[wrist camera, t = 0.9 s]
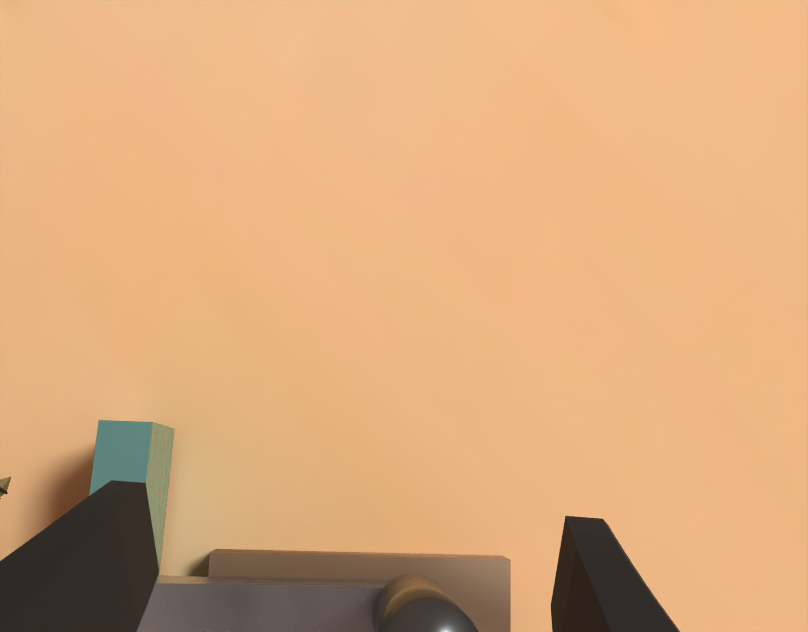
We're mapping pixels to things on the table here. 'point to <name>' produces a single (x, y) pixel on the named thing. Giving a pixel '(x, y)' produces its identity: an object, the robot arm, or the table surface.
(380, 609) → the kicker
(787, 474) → the table surface
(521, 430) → the table surface
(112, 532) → the robot arm
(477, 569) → the rail
